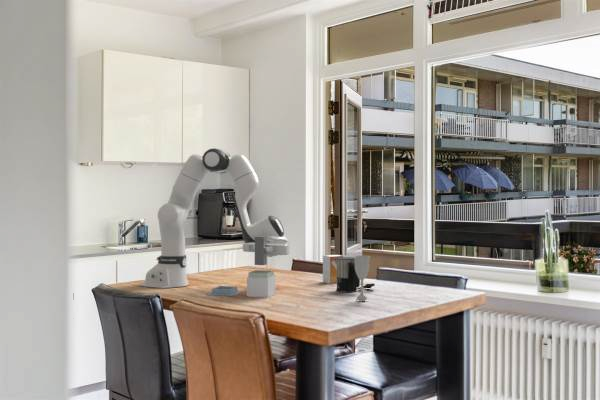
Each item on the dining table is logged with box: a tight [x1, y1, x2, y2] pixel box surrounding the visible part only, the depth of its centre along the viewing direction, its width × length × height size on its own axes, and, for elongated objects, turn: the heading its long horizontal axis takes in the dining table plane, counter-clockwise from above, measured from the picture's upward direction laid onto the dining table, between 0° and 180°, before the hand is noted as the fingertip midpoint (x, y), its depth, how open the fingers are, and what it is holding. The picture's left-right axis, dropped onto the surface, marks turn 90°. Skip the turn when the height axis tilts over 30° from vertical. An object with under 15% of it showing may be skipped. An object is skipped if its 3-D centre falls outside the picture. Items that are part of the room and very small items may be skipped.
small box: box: [322, 254, 344, 284], centre depth 305 cm, size 8×6×13 cm
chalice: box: [353, 255, 371, 301], centre depth 254 cm, size 7×7×18 cm
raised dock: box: [246, 269, 276, 298], centre depth 269 cm, size 10×10×10 cm
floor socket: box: [205, 285, 243, 297], centre depth 274 cm, size 12×12×2 cm
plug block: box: [254, 236, 268, 266], centre depth 268 cm, size 4×4×12 cm
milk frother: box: [335, 256, 375, 293], centre depth 280 cm, size 14×16×15 cm
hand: (260, 249), depth 268 cm, fingers closed on plug block, 4 cm apart
